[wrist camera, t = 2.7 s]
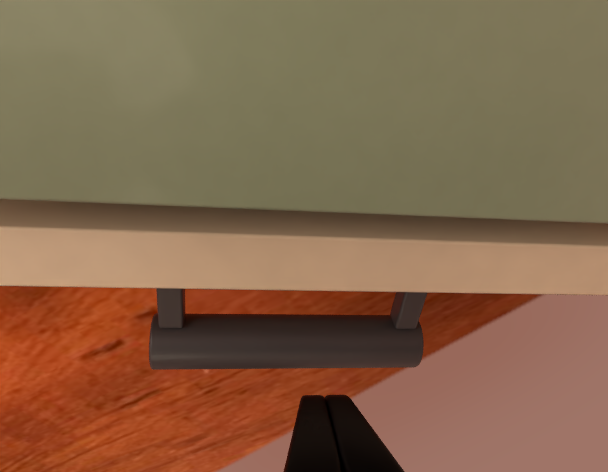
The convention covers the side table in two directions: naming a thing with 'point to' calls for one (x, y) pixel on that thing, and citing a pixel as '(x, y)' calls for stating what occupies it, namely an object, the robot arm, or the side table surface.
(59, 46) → the cabinet
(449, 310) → the side table surface
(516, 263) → the drawer
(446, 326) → the side table surface
